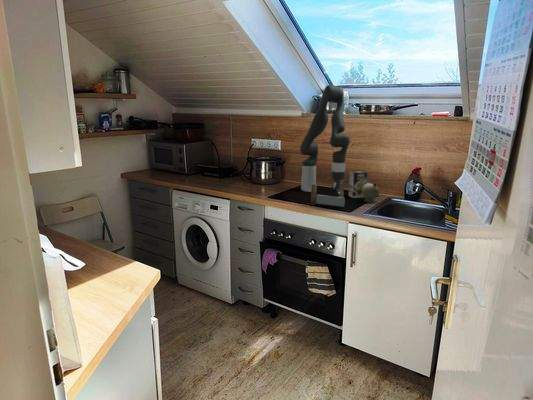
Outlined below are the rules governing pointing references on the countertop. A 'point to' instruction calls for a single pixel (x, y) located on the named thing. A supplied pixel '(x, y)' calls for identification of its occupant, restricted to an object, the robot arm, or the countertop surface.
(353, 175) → the coffee box
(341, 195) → the gate frame
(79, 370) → the countertop surface
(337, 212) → the countertop surface
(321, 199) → the gate
